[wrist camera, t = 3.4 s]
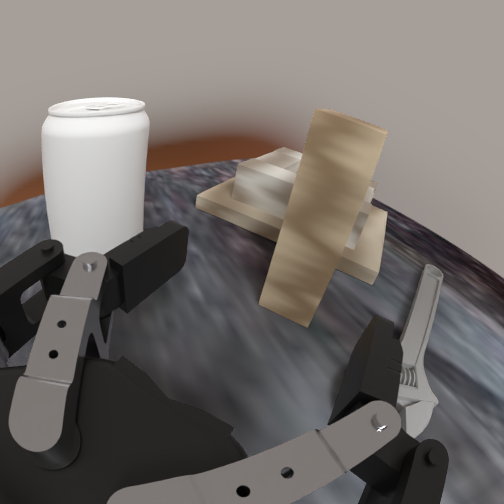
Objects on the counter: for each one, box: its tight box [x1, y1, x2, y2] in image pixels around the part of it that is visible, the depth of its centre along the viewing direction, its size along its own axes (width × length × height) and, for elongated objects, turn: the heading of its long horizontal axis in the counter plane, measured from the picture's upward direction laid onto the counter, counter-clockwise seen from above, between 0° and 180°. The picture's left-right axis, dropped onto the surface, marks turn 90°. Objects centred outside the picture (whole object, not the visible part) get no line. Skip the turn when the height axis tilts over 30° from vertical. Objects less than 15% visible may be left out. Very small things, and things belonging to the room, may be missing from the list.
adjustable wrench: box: [396, 264, 443, 438], centre depth 22 cm, size 25×6×2 cm, turn 137°
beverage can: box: [42, 98, 150, 257], centre depth 20 cm, size 8×8×12 cm
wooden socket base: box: [195, 147, 387, 285], centre depth 35 cm, size 20×18×6 cm
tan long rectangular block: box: [259, 109, 388, 328], centre depth 20 cm, size 4×5×14 cm
